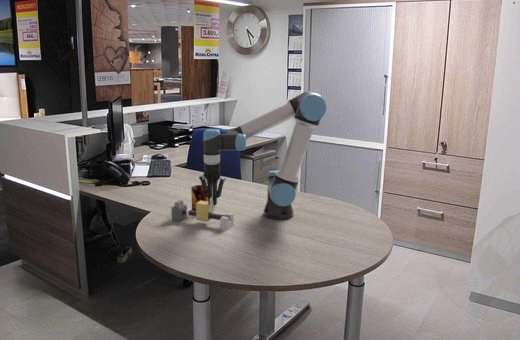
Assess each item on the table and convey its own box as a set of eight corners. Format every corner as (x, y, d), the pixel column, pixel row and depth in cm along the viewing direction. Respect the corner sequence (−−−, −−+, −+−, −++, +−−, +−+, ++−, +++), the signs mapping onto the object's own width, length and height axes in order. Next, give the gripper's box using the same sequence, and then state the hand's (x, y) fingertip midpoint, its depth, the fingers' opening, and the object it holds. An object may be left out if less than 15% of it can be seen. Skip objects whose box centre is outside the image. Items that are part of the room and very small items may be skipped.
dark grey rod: (229, 220, 214) (229, 213, 213) (226, 223, 211) (226, 216, 210) (178, 212, 224) (178, 206, 223) (174, 215, 221) (174, 208, 220)
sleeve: (211, 218, 218) (211, 202, 216) (207, 221, 214) (207, 204, 212) (201, 216, 220) (200, 200, 218) (196, 219, 216) (196, 203, 214)
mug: (199, 215, 228) (198, 193, 225) (189, 208, 240) (188, 186, 237) (216, 212, 233) (216, 190, 230) (206, 205, 244) (205, 184, 241)
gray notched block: (233, 224, 216) (233, 213, 215) (226, 230, 209) (225, 218, 207) (228, 223, 217) (228, 212, 216) (220, 229, 210) (220, 218, 208)
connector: (187, 218, 224) (186, 200, 222) (180, 222, 219) (180, 203, 217) (178, 216, 226) (177, 199, 224) (172, 220, 221) (171, 202, 218)
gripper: (228, 162, 209) (228, 210, 215) (203, 159, 214) (204, 207, 220) (221, 165, 202) (221, 215, 208) (195, 163, 207) (196, 211, 213)
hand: (212, 211), depth 214 cm, fingers closed
